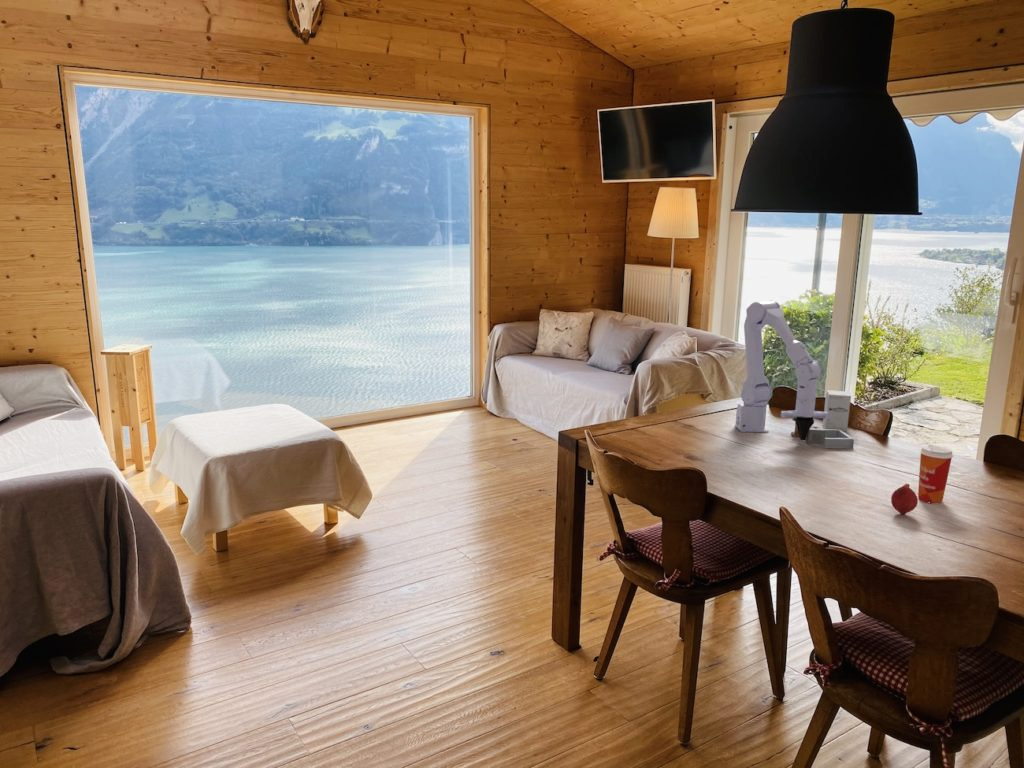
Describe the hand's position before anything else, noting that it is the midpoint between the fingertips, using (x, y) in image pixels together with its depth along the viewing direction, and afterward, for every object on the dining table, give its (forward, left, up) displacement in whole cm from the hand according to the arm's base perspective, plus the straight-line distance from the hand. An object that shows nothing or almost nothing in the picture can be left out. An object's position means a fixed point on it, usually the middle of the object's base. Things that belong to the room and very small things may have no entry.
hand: (802, 439), depth 249 cm
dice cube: (+4, 0, -1) cm, 4 cm away
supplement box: (+18, +18, -1) cm, 25 cm away
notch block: (+10, 0, -1) cm, 10 cm away
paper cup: (+16, -50, -1) cm, 52 cm away
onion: (+4, -60, -1) cm, 60 cm away
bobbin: (+2, +8, -1) cm, 8 cm away
